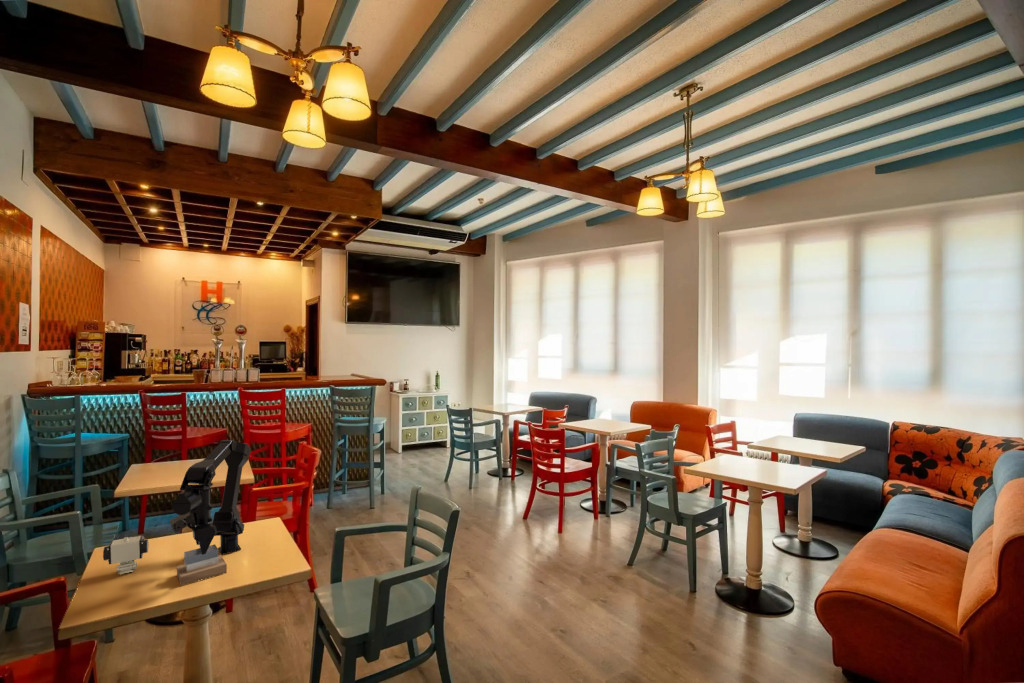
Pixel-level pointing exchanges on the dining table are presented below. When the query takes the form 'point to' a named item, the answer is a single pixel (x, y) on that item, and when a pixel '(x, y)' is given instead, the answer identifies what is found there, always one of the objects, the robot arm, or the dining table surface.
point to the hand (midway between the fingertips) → (201, 549)
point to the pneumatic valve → (126, 552)
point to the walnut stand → (201, 572)
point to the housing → (200, 558)
